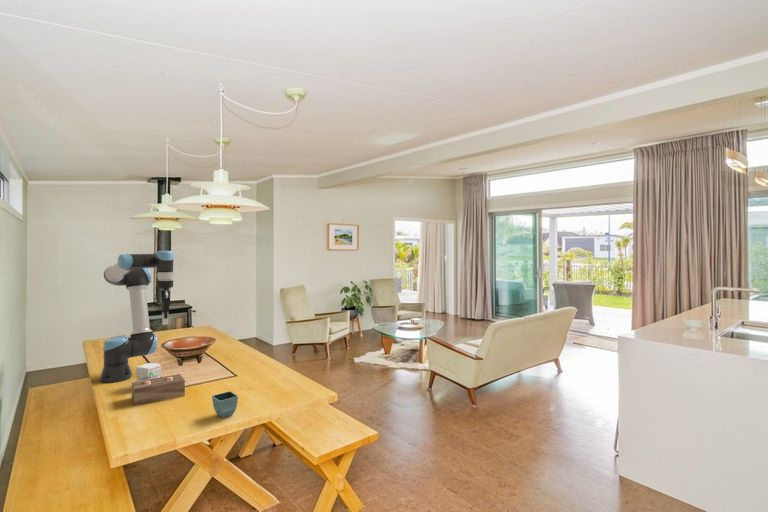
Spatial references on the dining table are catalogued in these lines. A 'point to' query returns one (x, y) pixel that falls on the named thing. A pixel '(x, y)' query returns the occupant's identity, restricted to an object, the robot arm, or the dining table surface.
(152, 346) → the robot arm
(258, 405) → the dining table surface
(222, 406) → the flower pot
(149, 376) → the ink box
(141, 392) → the walnut block
